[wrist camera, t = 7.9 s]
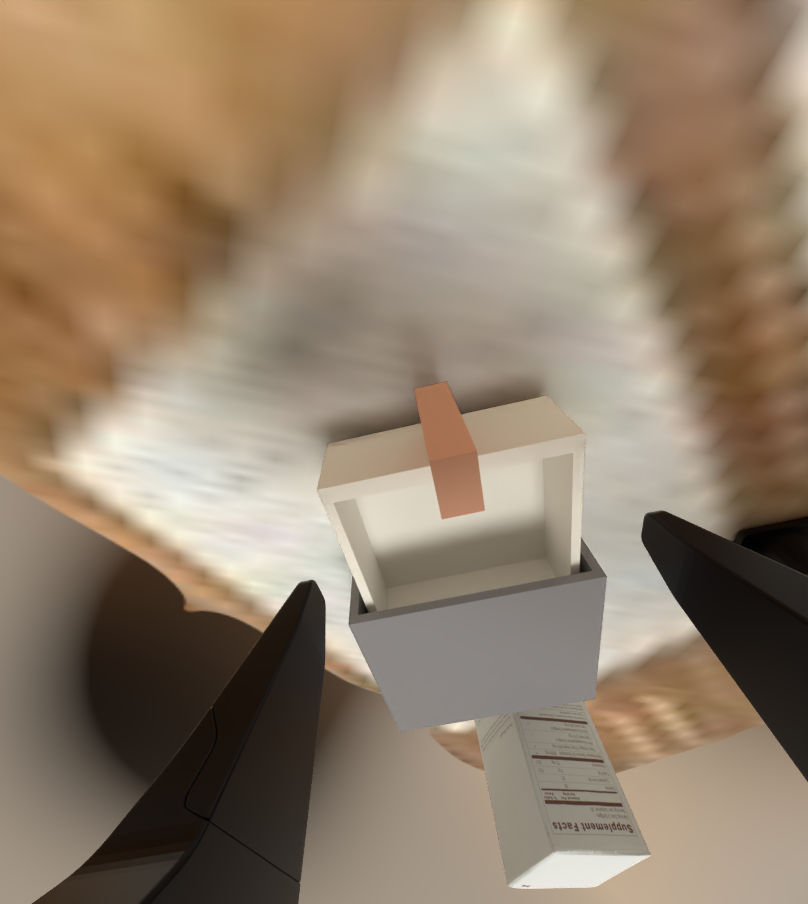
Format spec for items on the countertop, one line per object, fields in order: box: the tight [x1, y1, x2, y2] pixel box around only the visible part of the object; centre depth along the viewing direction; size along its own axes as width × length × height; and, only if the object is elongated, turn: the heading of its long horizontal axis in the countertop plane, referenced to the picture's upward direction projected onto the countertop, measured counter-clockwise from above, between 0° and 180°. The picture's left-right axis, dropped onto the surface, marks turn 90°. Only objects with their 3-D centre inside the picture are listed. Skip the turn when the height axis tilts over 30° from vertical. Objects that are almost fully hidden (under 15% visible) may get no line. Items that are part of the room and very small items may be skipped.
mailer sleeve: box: [349, 538, 607, 732], centre depth 26 cm, size 14×13×6 cm
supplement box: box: [474, 701, 651, 889], centre depth 30 cm, size 7×7×13 cm
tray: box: [317, 381, 585, 613], centre depth 20 cm, size 12×15×8 cm
